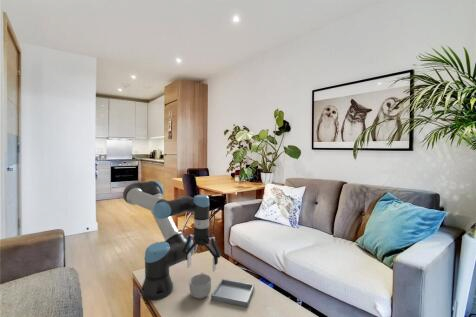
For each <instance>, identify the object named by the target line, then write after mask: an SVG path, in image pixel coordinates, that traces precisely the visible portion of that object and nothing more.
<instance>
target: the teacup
mask: <svg viewBox="0 0 476 317" xmlns="http://www.w3.org/2000/svg"><path fill="white" fill-rule="evenodd" d="M188 284H189V292H190V294H191V296H192V297H193V298H195V299H201V300H202V299H204V298H206V297H207V296H208V295H209V294H210V293H211V290H212V277H211V276H210V275H209V274H206V273H205V272H204V271H203V272H200V274H199V273H198V274H195V275H193V276H191V277H190V279H188Z"/></svg>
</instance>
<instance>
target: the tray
mask: <svg viewBox="0 0 476 317" xmlns="http://www.w3.org/2000/svg"><path fill="white" fill-rule="evenodd" d="M254 291H255V284H253V283H247V282H242V281H237V280H230V279H224V278H221V279H220V281H219V283H218V284H217V285H216V287H215V289H214V290H213V292H212V294H211V296H210V297H211V298H210V299H211V301H214V302H218V303H223V304H229V305H233V306H239V307H243V308H248V307H249V305H250V302H251V299H252V297H253V293H254Z"/></svg>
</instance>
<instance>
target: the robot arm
mask: <svg viewBox="0 0 476 317" xmlns="http://www.w3.org/2000/svg"><path fill="white" fill-rule="evenodd" d="M164 194H165V190H164V187H163V185H162V183H161V182H160V181H158V180H149V181H143V182H133V183H131V184H129V185H127V186H126V187H125V188H124V190H123V192H122V197H123V200H124V201H125V202H126V203H127V204H129V205H131V206H134V205H135V206H136V205H137V206H139V207H140V208H143V209H146V210H148V211H150V212H151V214H152V217H153V218H154V221H155V223H156V224H157V226H158V228H159V231H160V232H161V235H162V237H163V238H164V241H157V242H154V243H151V244H150V245H148V247H146V249H145V251H144V280H143V283H142V286H141V296H142V298H144V299H146V300H150V301H155V300H160V299H163V298H165V297H168V296H169V295H170V294H171V293H172V291H173V290H174V286H173V282H172V279H171V278H172V277H171V276H170V268H171V267H174V266H175V265H177V264H179V263H181V262H182V263H183V262H185V261H187V268H190V267H191V266H192V256H193V254H194V252H195V250H194V249H195V246H201V247H205V248H207V251H209V253H210V255H212V257H213V258H212V272H213V273H215V271H216V270H217V266H218V263H219V258H221V257H222V252H221V249H220V247H219V246H218V244H217V241H216V237H215V236H212V237H210V197H209V196H208V195H206V194H197V195H194V197H192V196H189V195H185V196H184V195H181V196H180V197H178V198H177V199H171V200H167V199H165V198H164ZM184 213H191V214H193V234H192V233H190V234H189V235H188V236H187V235H185V234H184V233H183V231H180V230H179V229H178V227H177V225H176V223H175V221H174V219H173V217H174V216H177V215H178V216H179V215H182V214H184ZM193 240H194V241H193Z"/></svg>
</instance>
